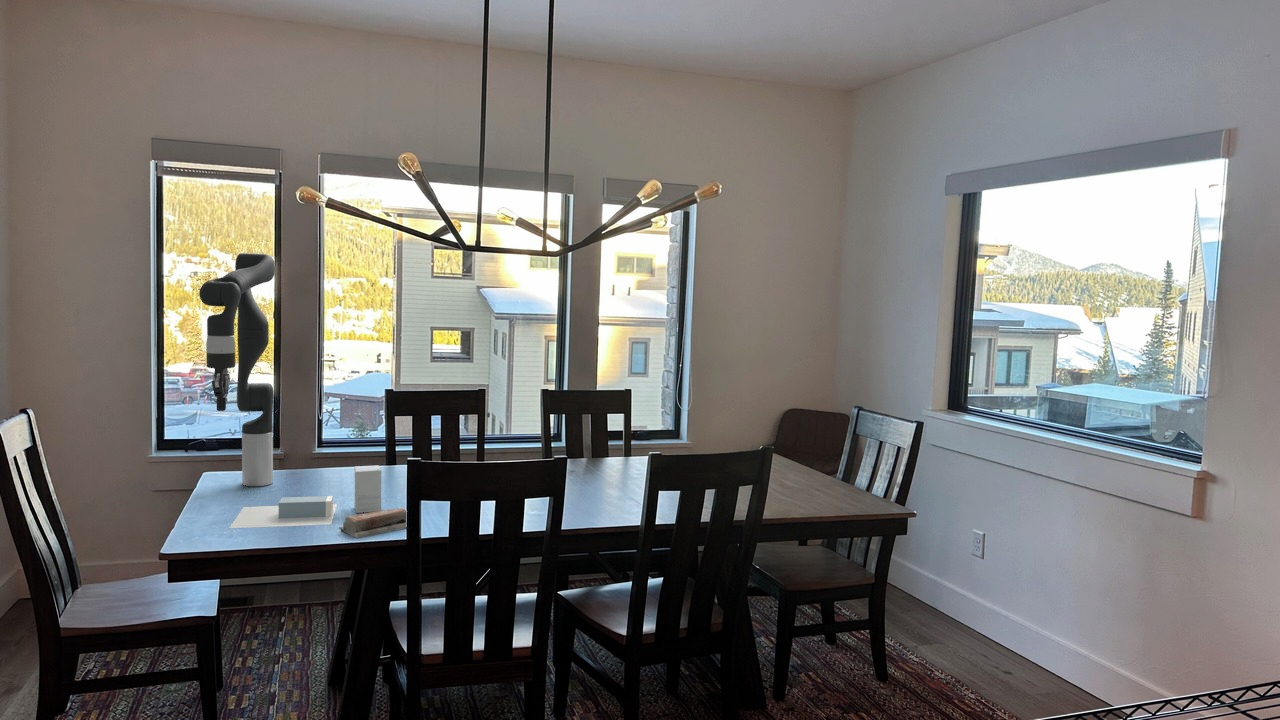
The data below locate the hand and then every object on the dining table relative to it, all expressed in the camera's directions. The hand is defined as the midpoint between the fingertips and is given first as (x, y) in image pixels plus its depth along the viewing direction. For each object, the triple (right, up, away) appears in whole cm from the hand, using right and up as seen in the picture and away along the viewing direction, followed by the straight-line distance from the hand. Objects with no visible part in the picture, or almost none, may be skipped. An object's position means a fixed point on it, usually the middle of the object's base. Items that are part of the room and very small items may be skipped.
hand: (221, 410), depth 245 cm
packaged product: (+49, -33, -11) cm, 60 cm away
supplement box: (+40, -30, +7) cm, 51 cm away
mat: (+20, -30, -4) cm, 37 cm away
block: (+19, -28, -4) cm, 34 cm away
